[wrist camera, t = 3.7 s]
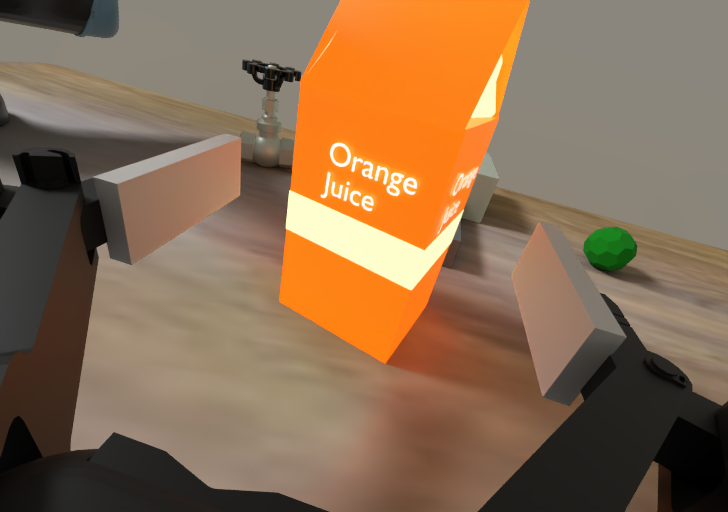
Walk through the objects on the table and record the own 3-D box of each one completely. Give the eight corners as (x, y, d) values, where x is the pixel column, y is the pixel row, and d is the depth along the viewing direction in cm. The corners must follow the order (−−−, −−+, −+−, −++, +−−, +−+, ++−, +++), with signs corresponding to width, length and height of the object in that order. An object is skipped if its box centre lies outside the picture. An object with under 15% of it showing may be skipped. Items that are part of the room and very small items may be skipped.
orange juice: (336, 259, 31) (391, -21, 21) (427, 305, 28) (544, 6, 18) (276, 302, 25) (311, -68, 14) (384, 366, 22) (526, -39, 11)
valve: (244, 154, 49) (246, 57, 42) (292, 161, 50) (301, 68, 44) (236, 170, 43) (237, 62, 37) (290, 178, 45) (300, 75, 38)
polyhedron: (574, 264, 40) (597, 228, 38) (576, 249, 44) (597, 215, 42) (622, 284, 39) (649, 247, 36) (620, 266, 42) (644, 233, 40)
